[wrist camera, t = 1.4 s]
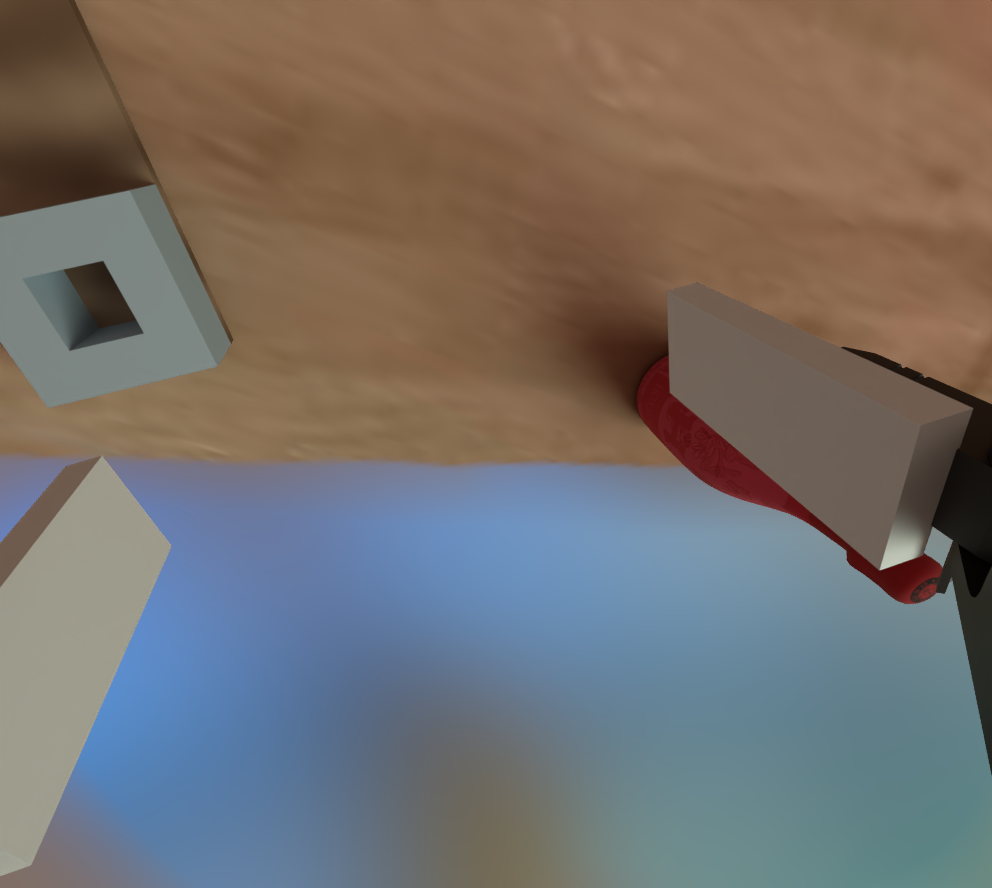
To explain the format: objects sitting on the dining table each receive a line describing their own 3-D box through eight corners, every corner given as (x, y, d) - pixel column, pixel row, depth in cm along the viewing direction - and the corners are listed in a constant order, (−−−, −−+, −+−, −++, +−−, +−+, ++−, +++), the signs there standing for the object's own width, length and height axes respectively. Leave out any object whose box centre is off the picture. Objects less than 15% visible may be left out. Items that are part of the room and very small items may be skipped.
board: (-264, -154, 27) (-284, -164, 26) (-14, -188, 28) (-25, -197, 27) (84, 375, 43) (78, 380, 42) (233, 339, 44) (230, 343, 43)
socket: (-27, 221, 35) (-79, 233, 31) (155, 184, 37) (129, 190, 32) (78, 380, 42) (48, 408, 38) (230, 343, 43) (217, 366, 39)
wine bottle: (638, 347, 53) (894, 539, 28) (724, 341, 55) (1036, 515, 30) (624, 432, 58) (831, 660, 33) (704, 424, 60) (957, 633, 35)
